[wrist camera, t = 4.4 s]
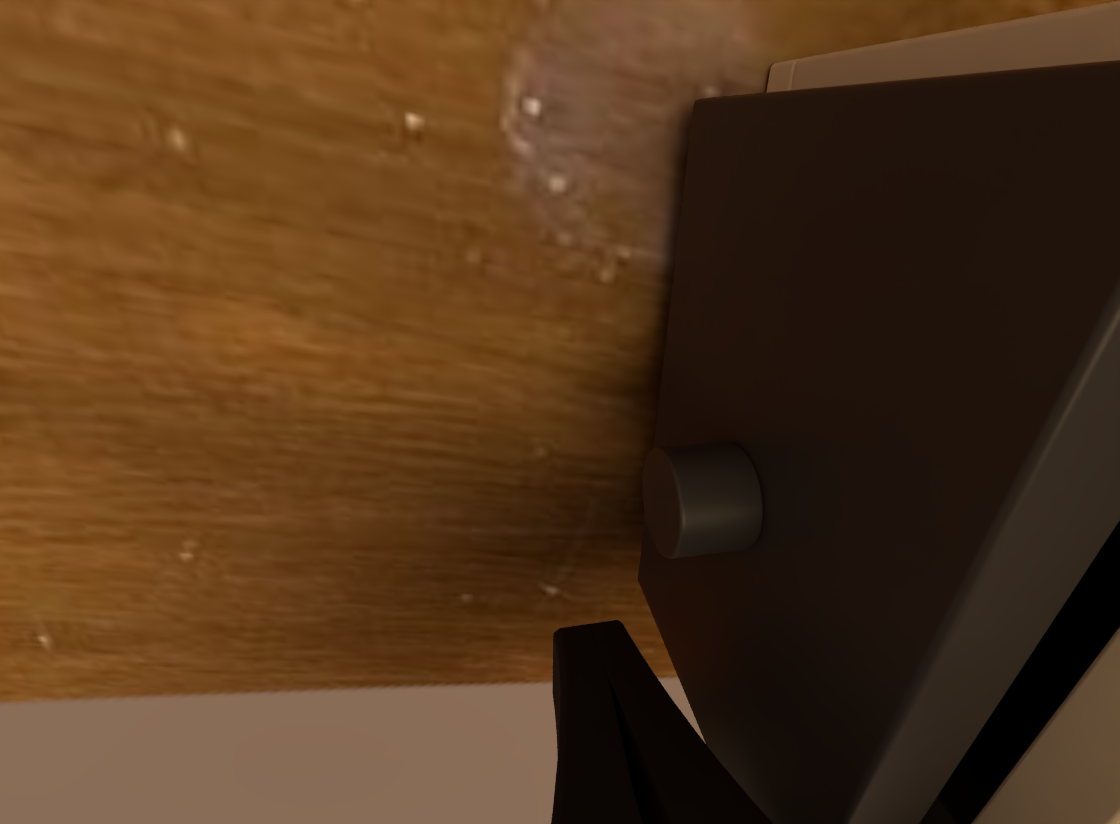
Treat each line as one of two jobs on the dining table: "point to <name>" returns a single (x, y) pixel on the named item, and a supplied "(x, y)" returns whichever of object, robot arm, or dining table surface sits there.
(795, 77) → the small drawer cabinet
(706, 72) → the dining table surface
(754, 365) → the small knobbed drawer
